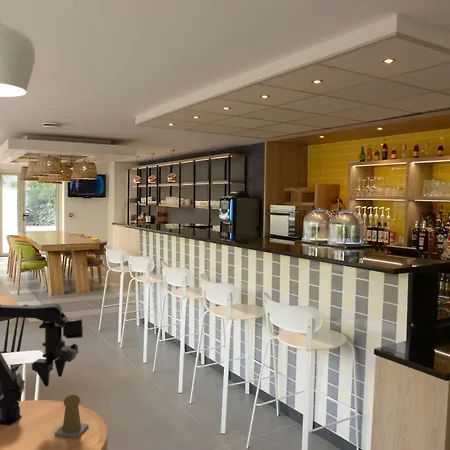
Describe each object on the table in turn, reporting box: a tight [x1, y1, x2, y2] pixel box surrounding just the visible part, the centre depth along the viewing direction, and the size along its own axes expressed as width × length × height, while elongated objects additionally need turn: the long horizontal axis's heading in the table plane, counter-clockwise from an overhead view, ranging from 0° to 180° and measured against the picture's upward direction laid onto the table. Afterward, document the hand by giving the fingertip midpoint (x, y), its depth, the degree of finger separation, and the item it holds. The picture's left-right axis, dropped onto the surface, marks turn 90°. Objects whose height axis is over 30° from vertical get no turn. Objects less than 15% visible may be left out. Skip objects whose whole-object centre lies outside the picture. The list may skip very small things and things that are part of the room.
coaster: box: [54, 422, 89, 439], centre depth 156 cm, size 8×8×1 cm
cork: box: [62, 394, 82, 432], centre depth 156 cm, size 6×6×11 cm
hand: (53, 381), depth 167 cm, fingers open, 9 cm apart
